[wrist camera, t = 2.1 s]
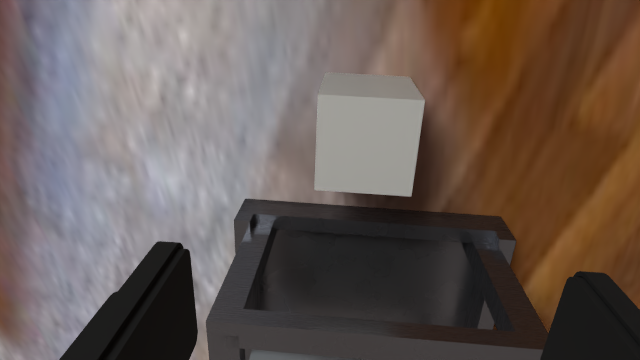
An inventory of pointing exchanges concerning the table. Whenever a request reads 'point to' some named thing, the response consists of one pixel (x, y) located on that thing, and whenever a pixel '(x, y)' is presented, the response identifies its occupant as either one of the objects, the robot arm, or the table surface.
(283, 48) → the table surface
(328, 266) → the trapdoor frame
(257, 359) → the trapdoor
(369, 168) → the matte off-white cube
